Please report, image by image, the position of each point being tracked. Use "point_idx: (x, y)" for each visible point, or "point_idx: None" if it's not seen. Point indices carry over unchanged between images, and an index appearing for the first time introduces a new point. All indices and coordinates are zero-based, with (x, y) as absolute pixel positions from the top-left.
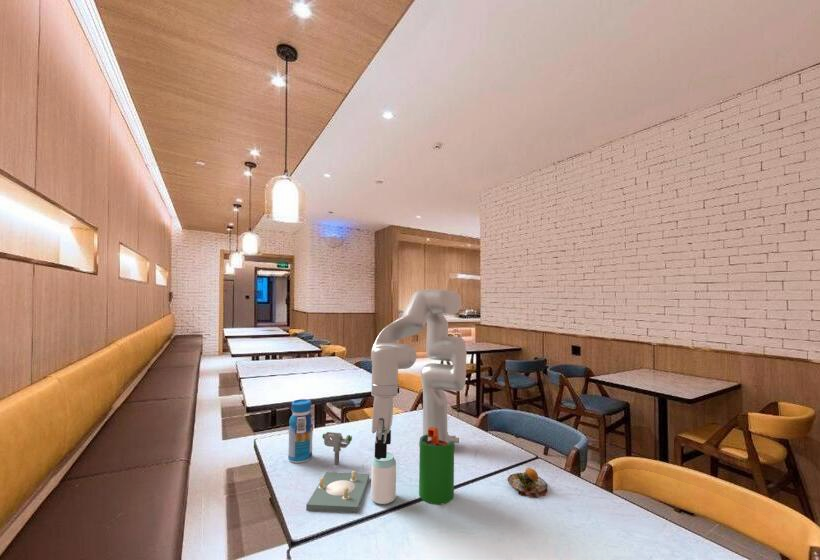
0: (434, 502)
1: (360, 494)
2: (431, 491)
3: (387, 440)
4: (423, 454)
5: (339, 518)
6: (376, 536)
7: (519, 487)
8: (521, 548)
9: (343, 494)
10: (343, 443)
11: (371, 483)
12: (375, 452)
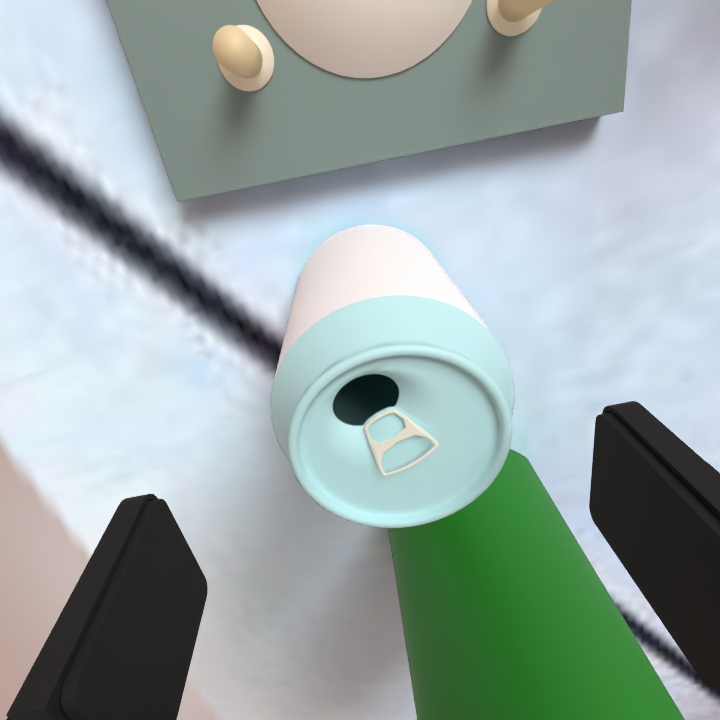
0: None
1: (319, 160)
2: (393, 547)
3: (619, 524)
4: (461, 710)
5: (84, 101)
6: (63, 364)
7: None
8: (236, 714)
9: (274, 16)
10: None
11: (328, 261)
12: (104, 552)
